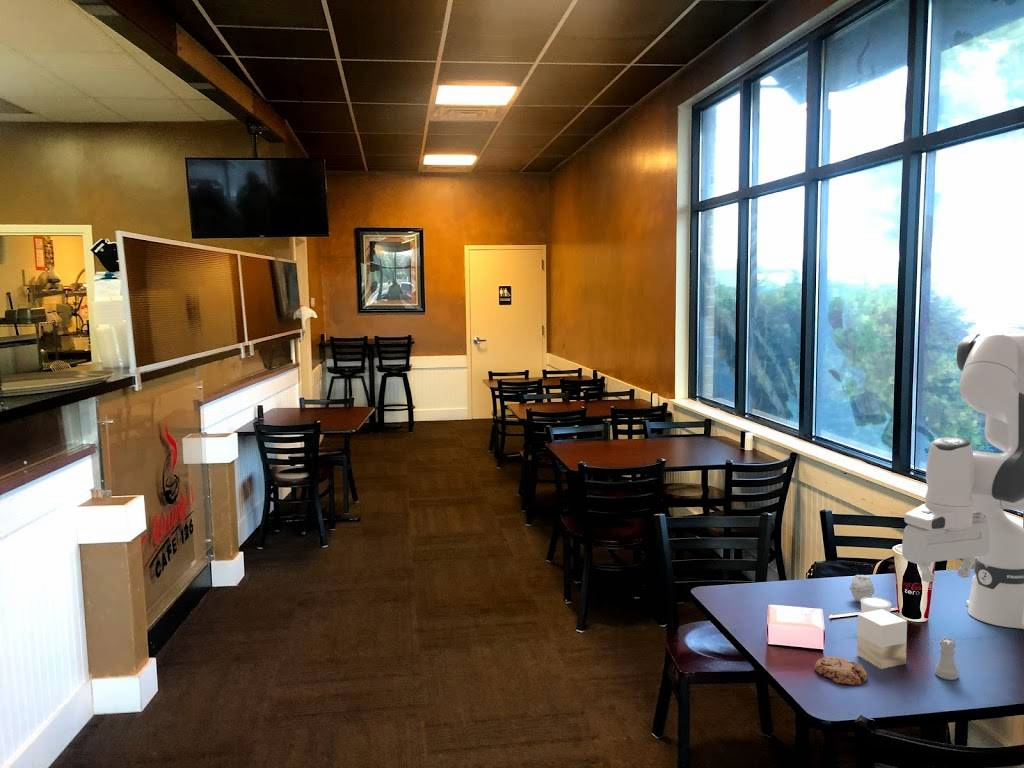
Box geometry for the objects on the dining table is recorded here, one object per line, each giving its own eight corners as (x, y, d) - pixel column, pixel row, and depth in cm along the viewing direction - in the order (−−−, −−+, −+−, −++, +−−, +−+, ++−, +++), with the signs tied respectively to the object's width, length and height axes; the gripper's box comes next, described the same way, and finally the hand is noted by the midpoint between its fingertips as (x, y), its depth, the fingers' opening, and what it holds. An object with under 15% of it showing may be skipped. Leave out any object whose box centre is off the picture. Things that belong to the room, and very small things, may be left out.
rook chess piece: (954, 671, 164) (955, 636, 163) (961, 681, 160) (963, 645, 159) (932, 670, 165) (932, 634, 164) (938, 679, 161) (939, 643, 160)
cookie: (818, 661, 171) (818, 648, 171) (869, 671, 166) (870, 658, 166) (810, 680, 163) (810, 666, 163) (864, 691, 158) (864, 677, 157)
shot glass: (894, 635, 182) (895, 607, 182) (863, 634, 184) (864, 606, 183) (886, 624, 189) (886, 597, 188) (856, 622, 191) (857, 595, 190)
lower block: (881, 650, 175) (881, 630, 175) (905, 664, 169) (906, 642, 168) (857, 656, 173) (857, 634, 172) (881, 669, 166) (881, 647, 166)
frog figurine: (875, 598, 205) (876, 574, 205) (872, 608, 199) (873, 582, 199) (851, 595, 208) (851, 570, 208) (847, 603, 202) (848, 578, 202)
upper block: (881, 630, 175) (882, 609, 174) (906, 642, 168) (906, 620, 168) (857, 635, 172) (857, 613, 172) (881, 647, 166) (882, 625, 165)
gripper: (974, 507, 166) (971, 569, 167) (897, 515, 160) (895, 579, 161) (1000, 514, 160) (997, 578, 161) (921, 522, 154) (919, 589, 155)
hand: (945, 578), depth 161 cm, fingers open, 8 cm apart
